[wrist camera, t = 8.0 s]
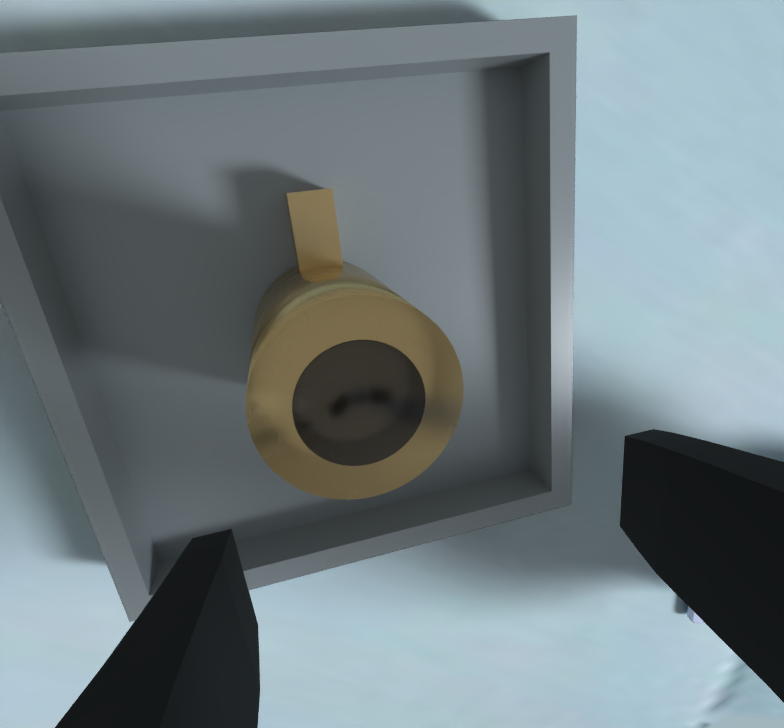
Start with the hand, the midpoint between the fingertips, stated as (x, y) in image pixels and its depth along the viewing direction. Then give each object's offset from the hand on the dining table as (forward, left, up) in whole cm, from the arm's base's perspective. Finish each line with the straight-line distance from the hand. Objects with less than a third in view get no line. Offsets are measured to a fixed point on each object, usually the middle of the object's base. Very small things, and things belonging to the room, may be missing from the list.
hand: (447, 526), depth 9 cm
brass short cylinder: (+1, -2, -9) cm, 9 cm away
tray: (+1, -2, -9) cm, 9 cm away
